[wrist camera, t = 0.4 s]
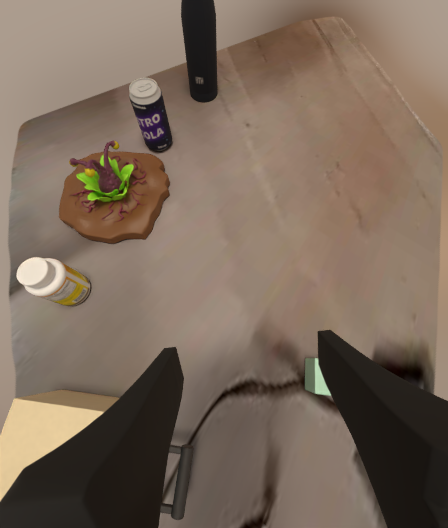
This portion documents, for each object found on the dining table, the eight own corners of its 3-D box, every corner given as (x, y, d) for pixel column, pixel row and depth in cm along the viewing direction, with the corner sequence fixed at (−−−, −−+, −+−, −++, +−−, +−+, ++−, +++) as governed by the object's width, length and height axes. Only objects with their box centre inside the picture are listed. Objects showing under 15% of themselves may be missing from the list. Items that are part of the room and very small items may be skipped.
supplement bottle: (60, 276, 43) (14, 253, 33) (93, 273, 43) (56, 249, 34) (56, 308, 41) (5, 293, 31) (90, 305, 41) (50, 288, 32)
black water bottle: (210, 81, 61) (201, -154, 33) (221, 97, 59) (221, -138, 31) (186, 88, 60) (155, -147, 32) (196, 105, 58) (172, -130, 30)
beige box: (159, 403, 36) (139, 416, 28) (137, 514, 32) (106, 571, 23) (62, 389, 37) (14, 398, 28) (27, 496, 32) (-43, 545, 24)
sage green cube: (334, 393, 37) (348, 398, 33) (304, 389, 37) (315, 393, 33) (333, 362, 38) (347, 362, 34) (305, 358, 38) (314, 358, 34)
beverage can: (141, 141, 54) (120, 84, 43) (163, 129, 55) (148, 71, 44) (155, 157, 53) (137, 103, 41) (178, 145, 54) (166, 89, 43)
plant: (51, 238, 46) (0, 202, 35) (82, 156, 53) (48, 105, 42) (158, 248, 45) (139, 214, 35) (176, 163, 52) (165, 114, 42)
